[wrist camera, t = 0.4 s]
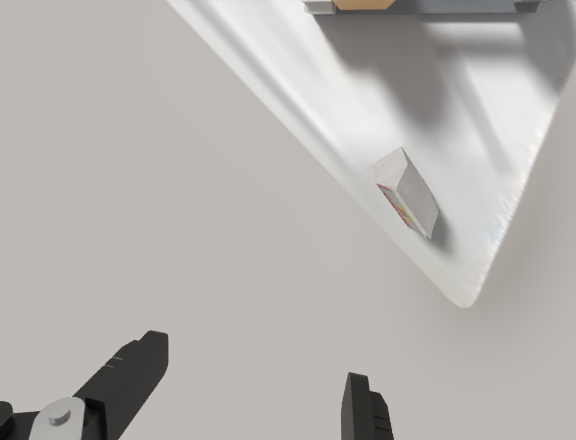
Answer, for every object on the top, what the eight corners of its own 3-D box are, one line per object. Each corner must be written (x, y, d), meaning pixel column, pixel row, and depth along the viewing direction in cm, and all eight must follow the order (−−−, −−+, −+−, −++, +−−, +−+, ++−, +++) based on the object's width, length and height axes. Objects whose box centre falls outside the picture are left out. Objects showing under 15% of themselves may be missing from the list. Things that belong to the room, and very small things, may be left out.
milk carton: (401, 146, 35) (413, 180, 27) (428, 188, 37) (448, 232, 29) (373, 163, 37) (378, 200, 29) (401, 202, 39) (413, 247, 31)
